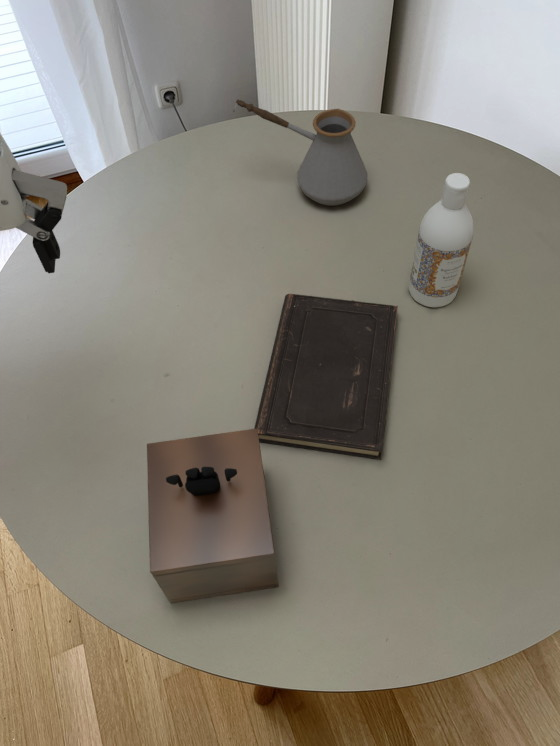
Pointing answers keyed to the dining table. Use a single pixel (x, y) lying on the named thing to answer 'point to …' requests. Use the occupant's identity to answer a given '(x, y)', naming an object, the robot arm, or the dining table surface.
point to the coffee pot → (326, 156)
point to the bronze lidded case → (210, 519)
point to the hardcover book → (329, 376)
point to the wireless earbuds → (201, 480)
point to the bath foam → (442, 246)
